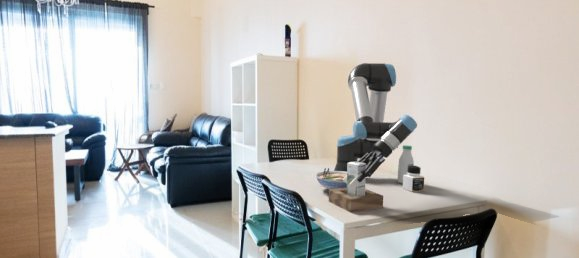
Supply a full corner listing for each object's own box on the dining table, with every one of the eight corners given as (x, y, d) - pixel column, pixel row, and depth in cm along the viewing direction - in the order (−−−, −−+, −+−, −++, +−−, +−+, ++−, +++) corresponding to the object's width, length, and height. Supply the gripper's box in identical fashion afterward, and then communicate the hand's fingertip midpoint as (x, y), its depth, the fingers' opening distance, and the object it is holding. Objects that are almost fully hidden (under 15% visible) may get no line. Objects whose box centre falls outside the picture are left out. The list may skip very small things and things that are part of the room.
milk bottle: (401, 184, 188) (403, 146, 186) (394, 180, 196) (397, 144, 194) (415, 184, 189) (417, 146, 187) (408, 180, 197) (410, 144, 195)
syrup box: (365, 197, 149) (366, 163, 148) (356, 199, 146) (357, 164, 144) (355, 194, 154) (356, 161, 153) (345, 196, 150) (346, 162, 149)
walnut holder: (328, 201, 154) (329, 189, 153) (359, 197, 161) (359, 186, 160) (350, 212, 140) (350, 199, 139) (382, 207, 146) (383, 195, 146)
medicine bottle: (412, 192, 173) (413, 167, 172) (402, 188, 179) (403, 165, 178) (423, 191, 175) (425, 166, 174) (413, 187, 182) (415, 164, 181)
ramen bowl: (362, 199, 158) (363, 181, 157) (310, 195, 163) (311, 177, 162) (362, 186, 182) (363, 170, 182) (317, 183, 187) (318, 167, 186)
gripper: (403, 155, 141) (363, 196, 139) (381, 148, 161) (345, 184, 159) (392, 141, 139) (350, 183, 138) (370, 136, 159) (334, 172, 158)
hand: (348, 184), depth 149 cm, fingers closed on syrup box, 7 cm apart
